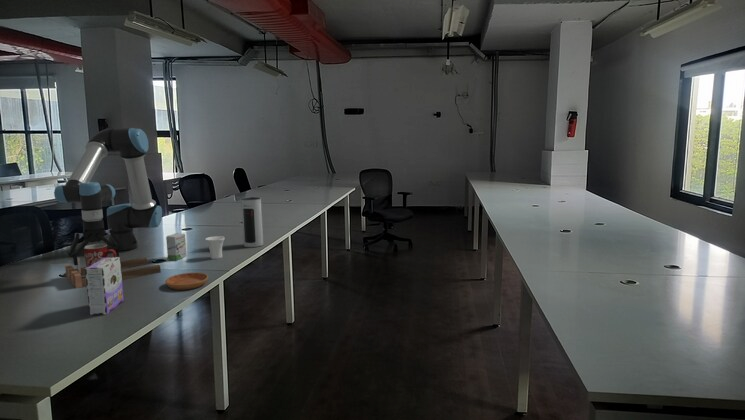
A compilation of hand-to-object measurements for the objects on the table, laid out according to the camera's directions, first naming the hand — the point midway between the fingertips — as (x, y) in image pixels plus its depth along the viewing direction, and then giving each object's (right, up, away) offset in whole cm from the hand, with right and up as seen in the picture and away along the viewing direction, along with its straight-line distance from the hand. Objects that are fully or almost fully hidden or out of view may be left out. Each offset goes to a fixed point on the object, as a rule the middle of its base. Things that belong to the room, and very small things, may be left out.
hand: (97, 269), depth 201 cm
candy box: (+23, -9, -35) cm, 43 cm away
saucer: (+42, -5, -10) cm, 43 cm away
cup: (+39, +2, +33) cm, 51 cm away
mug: (+1, -4, +1) cm, 4 cm away
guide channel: (+5, -3, +5) cm, 8 cm away
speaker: (+51, +6, +58) cm, 78 cm away
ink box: (+21, +1, +31) cm, 38 cm away
